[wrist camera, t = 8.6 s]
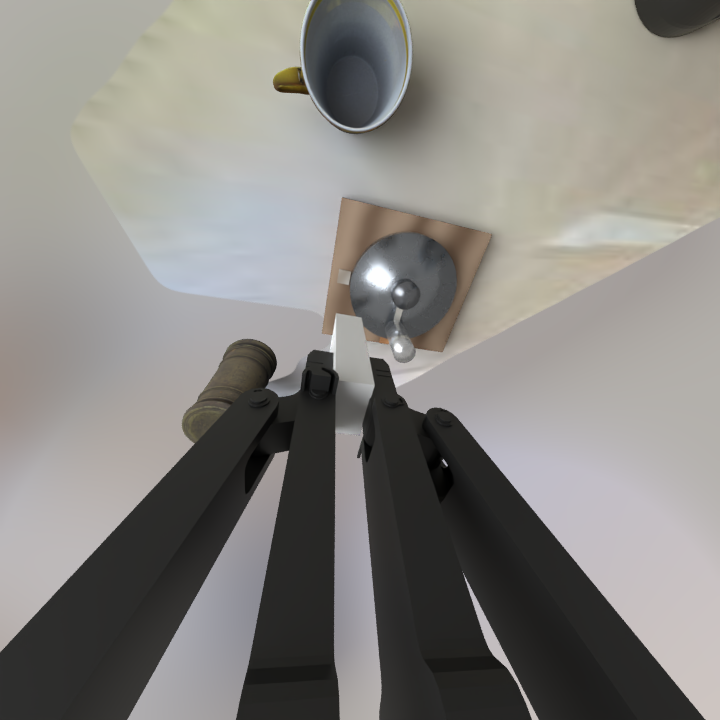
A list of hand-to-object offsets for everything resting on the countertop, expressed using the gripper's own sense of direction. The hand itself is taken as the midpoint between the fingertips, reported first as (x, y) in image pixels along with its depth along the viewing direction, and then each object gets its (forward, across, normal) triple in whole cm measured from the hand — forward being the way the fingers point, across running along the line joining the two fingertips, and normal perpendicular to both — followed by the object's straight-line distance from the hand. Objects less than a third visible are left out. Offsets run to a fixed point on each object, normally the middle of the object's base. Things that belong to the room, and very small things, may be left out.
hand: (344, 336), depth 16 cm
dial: (+26, +10, -3) cm, 28 cm away
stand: (+29, +10, -3) cm, 31 cm away
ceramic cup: (+30, -3, +17) cm, 34 cm away
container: (+30, -13, -22) cm, 39 cm away
